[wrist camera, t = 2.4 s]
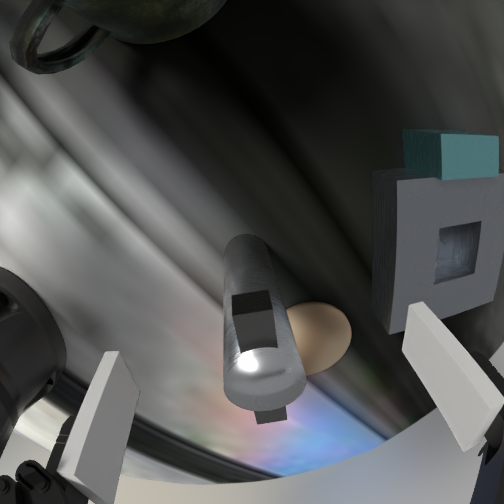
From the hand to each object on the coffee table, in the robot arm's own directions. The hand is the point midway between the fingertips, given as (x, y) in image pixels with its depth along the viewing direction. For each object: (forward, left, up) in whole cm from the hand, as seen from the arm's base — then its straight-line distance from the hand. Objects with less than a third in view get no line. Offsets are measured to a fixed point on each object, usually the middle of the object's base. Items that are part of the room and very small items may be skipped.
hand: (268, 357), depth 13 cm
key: (0, 0, -11) cm, 11 cm away
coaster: (+4, -9, -11) cm, 15 cm away
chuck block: (+16, +1, -11) cm, 19 cm away
